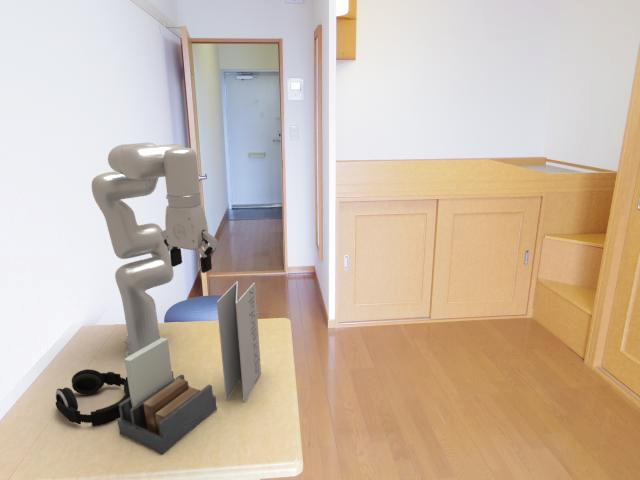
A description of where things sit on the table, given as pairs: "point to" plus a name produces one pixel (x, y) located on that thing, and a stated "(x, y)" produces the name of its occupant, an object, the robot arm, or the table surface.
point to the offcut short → (174, 405)
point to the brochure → (239, 339)
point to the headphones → (87, 385)
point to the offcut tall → (162, 402)
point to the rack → (166, 419)
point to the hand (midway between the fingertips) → (191, 267)
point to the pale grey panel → (148, 370)
